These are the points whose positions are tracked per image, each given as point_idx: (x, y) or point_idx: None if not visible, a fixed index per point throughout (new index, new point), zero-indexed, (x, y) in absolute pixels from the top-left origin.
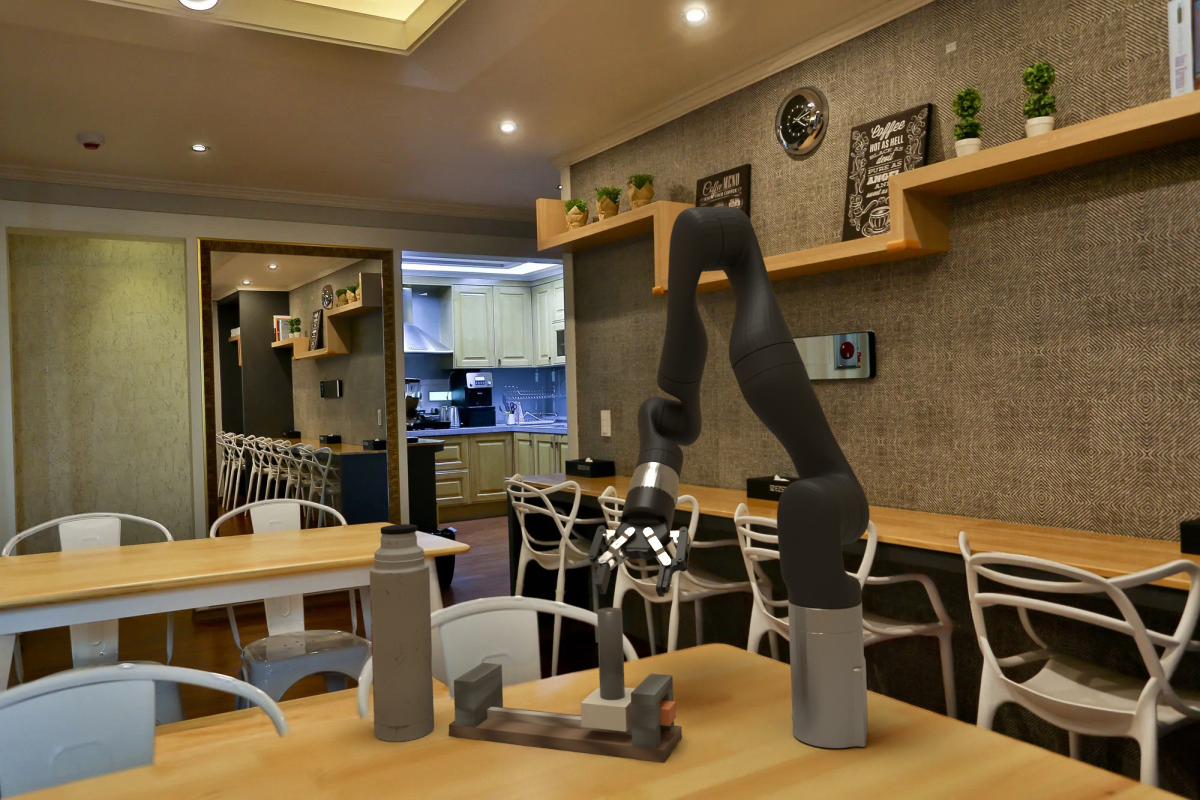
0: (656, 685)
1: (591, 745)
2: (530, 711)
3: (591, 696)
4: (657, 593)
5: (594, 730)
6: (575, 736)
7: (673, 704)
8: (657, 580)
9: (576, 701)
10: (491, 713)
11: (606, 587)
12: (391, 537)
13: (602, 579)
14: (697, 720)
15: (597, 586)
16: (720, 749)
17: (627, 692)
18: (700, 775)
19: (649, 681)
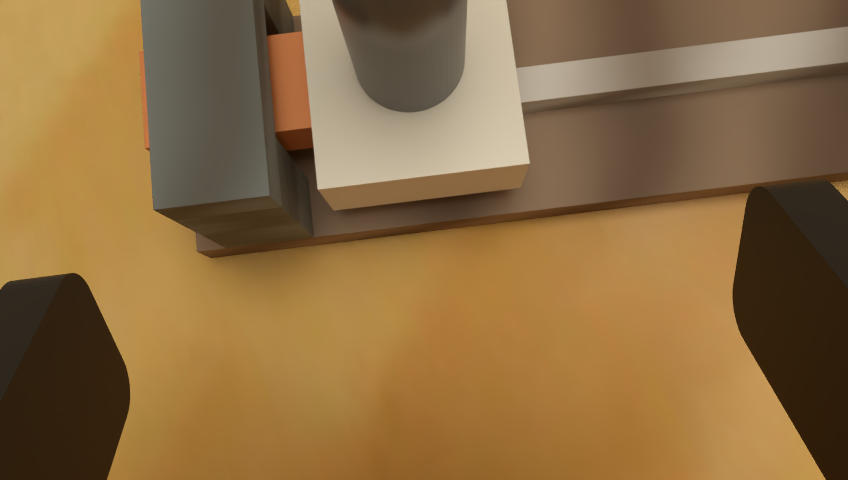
0: (174, 44)
1: None
2: (781, 65)
3: (493, 18)
4: (102, 323)
5: None
6: (519, 10)
7: (144, 117)
8: (27, 333)
9: (779, 457)
10: None
11: (768, 358)
12: None
13: (803, 225)
14: (213, 446)
15: (806, 180)
16: (54, 216)
17: (366, 124)
18: (60, 10)
19: (226, 81)
